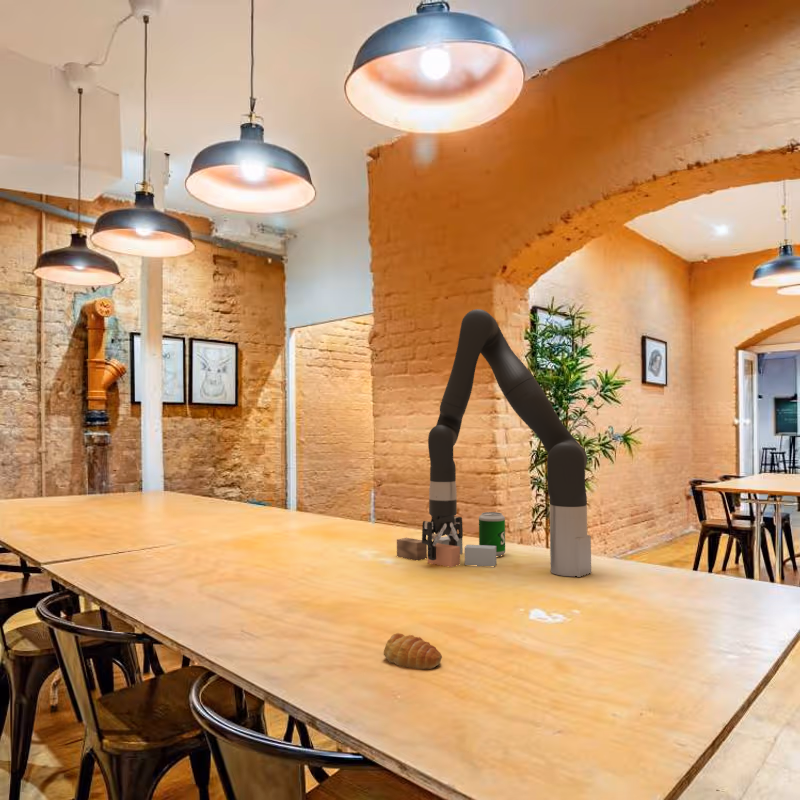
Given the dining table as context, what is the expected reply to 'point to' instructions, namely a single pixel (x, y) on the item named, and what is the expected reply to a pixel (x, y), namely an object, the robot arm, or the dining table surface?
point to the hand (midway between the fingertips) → (442, 557)
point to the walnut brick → (411, 549)
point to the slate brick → (446, 541)
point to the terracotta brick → (446, 555)
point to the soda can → (492, 531)
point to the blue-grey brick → (480, 555)
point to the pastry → (411, 652)
